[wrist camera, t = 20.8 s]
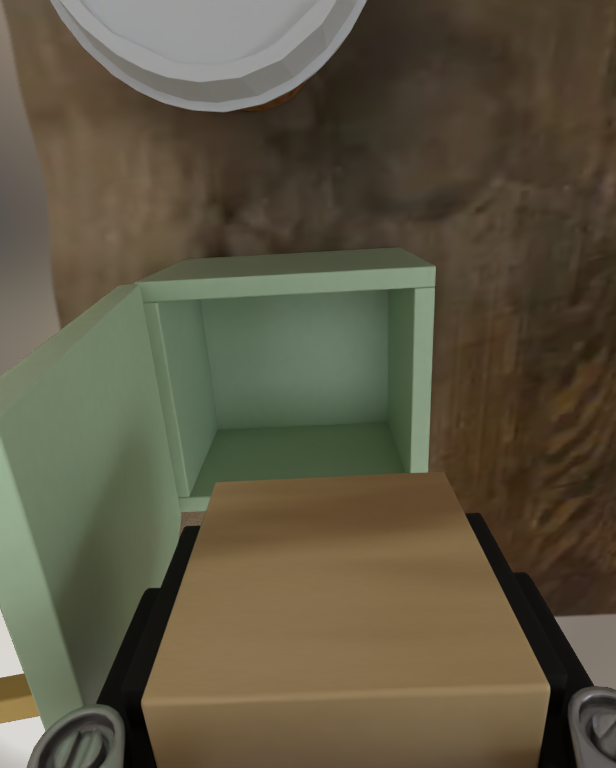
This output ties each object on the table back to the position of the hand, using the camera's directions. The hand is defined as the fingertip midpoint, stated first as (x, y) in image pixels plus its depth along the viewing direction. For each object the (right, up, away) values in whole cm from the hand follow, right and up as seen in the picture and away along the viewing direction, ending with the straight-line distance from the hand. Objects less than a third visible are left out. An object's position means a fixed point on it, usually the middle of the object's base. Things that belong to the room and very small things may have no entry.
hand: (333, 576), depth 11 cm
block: (0, 0, 0) cm, 0 cm away
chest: (-1, +6, +17) cm, 18 cm away
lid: (-6, +1, +3) cm, 7 cm away
